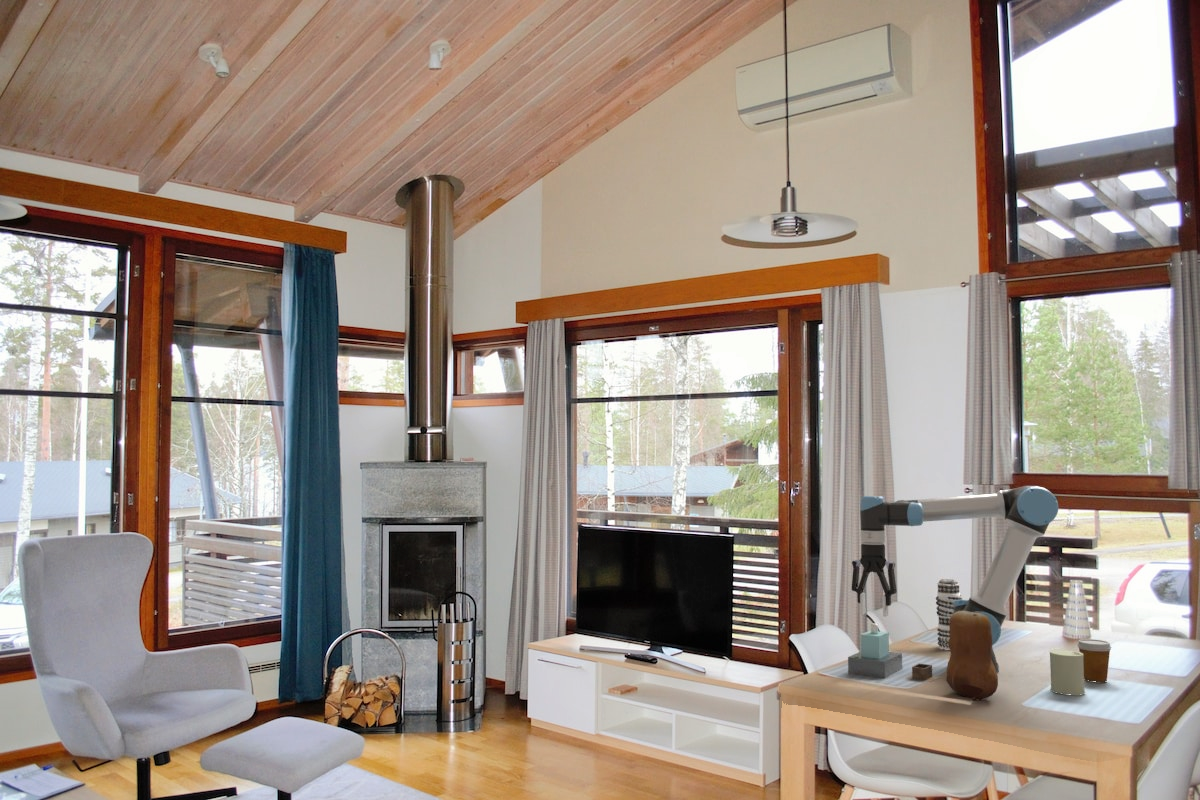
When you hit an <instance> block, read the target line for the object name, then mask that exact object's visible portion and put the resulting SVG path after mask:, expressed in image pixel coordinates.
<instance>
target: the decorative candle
mask: <svg viewBox="0 0 1200 800" xmlns="http://www.w3.org/2000/svg"><path fill="white" fill-rule="evenodd" d="M936 585H937V594H936V595H937V596H936V597H935V600H936V601H935V604H936V605H937V606H936V615H937V617H938V624H937V626H938V628H937V629H936V630H937V635H938V637H937V648H938V649H939V648H940V649H939V650H942V649H945V650H944V651H948V650H950V648H949V646H948V642H949V639H950V636H949V634H950V626H949V621H950V618H951V616H952V615H953V614H954V610H953V605H954V601H955V600H963V598H962V595H961V592H960V585H961V584H960V583H959V582H958V581H957V580H956V579H951V578H950V579H949V578H941V579H939V581H938V582H936Z"/></svg>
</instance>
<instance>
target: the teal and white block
mask: <svg viewBox="0 0 1200 800" xmlns="http://www.w3.org/2000/svg"><path fill="white" fill-rule="evenodd" d="M860 652H861V657H869V658H877V659H880V658H882V657H884V656H886V655H888V654H889V652H890V633H889V632H887V631H879V623H875V622H874V623H873V622H872V623H870V630H868V631H865V632H863V633H861V634H860Z"/></svg>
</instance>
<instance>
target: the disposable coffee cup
mask: <svg viewBox="0 0 1200 800" xmlns="http://www.w3.org/2000/svg"><path fill="white" fill-rule="evenodd" d="M1077 648H1078V649H1079V651H1078V652H1081V653H1083V667H1084V679H1085V680H1084V681H1086V680H1089V681H1096V682H1105V681H1107V682H1108V672H1109V663H1110V655H1111V654H1110V652H1111V649H1112V646H1111V644H1110V642H1109V641H1106V640H1102V639H1101V640H1100V639H1094V638H1093V639H1091V638H1085V639H1084V638H1083V639H1078V643H1077ZM1089 681H1088V682H1089ZM1105 683H1106V682H1105Z"/></svg>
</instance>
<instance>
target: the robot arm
mask: <svg viewBox="0 0 1200 800" xmlns="http://www.w3.org/2000/svg"><path fill="white" fill-rule="evenodd" d="M859 504H860V508H859V509H860V510H859V513H860V519H859V520H860V542H861V545H860V555H861V556H860V559H858V560H852V561H851V564H852V569H853V570H852V576H851V591H852V592H856V593H857V595H856V596H857V597H856V599H857V603H858V604H859V605H860V606H859V607H860V608H859V609H860V610H859V611H860V615H864V614H866V609H867V607H866V593H865V591H864V589H865V587H866V584H867V582H868V578H869V575H870V574H871V573H875V574H876V575H877V576H878V578H879V582H880V584H881V587H882V589H883V593H884V595H882V617H886V618H887V616H888V617H889V607H890V606H891V605H892V595H895V594H897V593H898V592H897V584H896V575H895V567H896V563H895V562H890V561H887V559H886V545H885V542H886V539H885V538H886V535H885V534H886V533H885V530H886V529H885V526H896V527H897V526H905V527H906V526H907V527H919V526H922V525H923V524H924V523H923V522H938V521H953V520H955V521H956V520H967V519H969V520H970V519H984V518H998V517H999V518H1000V519H1002V520H1006V522H1007V525H1008V527H1007V529H1006V530H1005V531H1006V532H1005V533H1004V535H1003V536H1002V537H1003V538H1002V540H1001V542H1000V544H999V546H998V547H997V548H998V549H996V550H997V551H996V553H995V555H994V557H993V559H992V561H991V563H990V566H989V568H988V570H987V572H986V574H985V576H984V579H983V581H982V583H981V584H980V587H979V589H978V591H977V594H974V595H972V596H970V597H969V599H962V600H955V601H954V605H953V610H954V613H955V612H958V611H969V612H973V613H981V614H984V615H985V616H987V617H988V619H989V621H990V625H991V633H992V648H991V660H992V662H993V664H994V667H995V669H996V672H997V674H999V673H998V672H1000V666H999V663H998V662H997V658H996V655H995V651H994V648H993V646H994V645H995V644H997V642H998V641H999V640H1000V638H1001V634H1002V627H1003V623H1004V622H1005V619H1006V617H1007V615H1008V614H1007V612H1006V609H1005V606H1006V604H1007V602H1008V601H1009V600H1008V599H1009V598H1010V595H1011V594H1012V591H1013V590H1014V587H1015V586H1016V583H1017V580H1018V579H1019V576H1020V574H1021V573H1022V570H1023V567H1024V566H1025V564H1026V561H1027V559H1028V557H1029V556H1030V553H1031V550H1032V548H1033V546H1034V543H1035V542H1036V540H1037V538H1039V537H1043V536H1044V535H1045V533H1046V531H1047V529H1048V527H1049V526H1050V523H1052V522H1053V521H1054V520H1055V519H1056V518H1057V515H1058V514H1059V503H1058V500H1057V498H1056V496H1055V495H1054V494H1053V493H1052V492H1051V491H1050V490H1049V489H1047V488H1045V487H1042V486H1039V485H1023V486H1020V487H1016V488H1010V489H1001V490H998V491H997V492H996V493H990V494H989V493H987V494H974V495H962V496H961V495H960V496H950V497H949V496H948V497H947V496H946V497H936V498H921V499H910V500H909V499H908V500H907V499H906V500H904V499H899V500H896V501H894V502H887V501H885V498H884V496H881V495H879V496H878V495H863V496H862V497H860V503H859ZM861 565H862V568H863V570H862V573H861V574H862V575H861V576H860V567H861ZM885 567H886V569H887V575H888V576H887V577H888V580H887V578H886V575H885V570H884V568H885ZM859 576H860V577H861V578H860V577H859ZM859 579H860V580H859Z"/></svg>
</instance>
